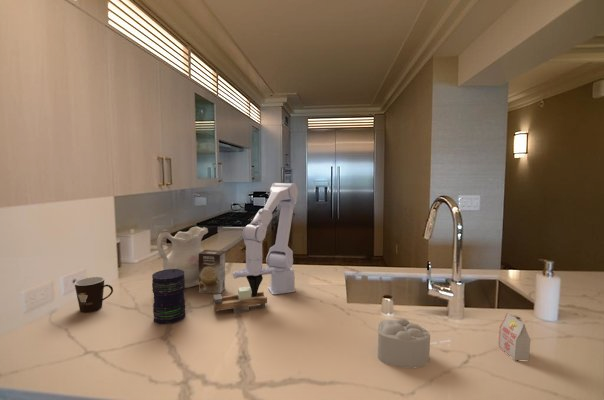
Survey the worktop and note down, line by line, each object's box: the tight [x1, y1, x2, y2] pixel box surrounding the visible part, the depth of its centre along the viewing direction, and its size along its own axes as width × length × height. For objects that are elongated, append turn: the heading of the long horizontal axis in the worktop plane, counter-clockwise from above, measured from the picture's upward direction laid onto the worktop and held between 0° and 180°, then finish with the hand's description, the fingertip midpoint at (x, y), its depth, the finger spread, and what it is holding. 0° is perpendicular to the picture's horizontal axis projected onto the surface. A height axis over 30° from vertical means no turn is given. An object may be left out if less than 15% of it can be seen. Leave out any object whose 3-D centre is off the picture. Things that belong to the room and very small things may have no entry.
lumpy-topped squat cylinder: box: [377, 317, 431, 369], centre depth 83 cm, size 10×13×9 cm
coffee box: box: [198, 249, 226, 295], centre depth 126 cm, size 9×6×16 cm
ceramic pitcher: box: [156, 226, 209, 289], centre depth 133 cm, size 22×20×25 cm
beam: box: [212, 291, 268, 314], centre depth 110 cm, size 18×6×5 cm, turn 111°
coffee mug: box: [74, 276, 114, 314], centre depth 108 cm, size 12×9×10 cm
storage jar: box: [151, 269, 186, 326], centre depth 102 cm, size 10×10×15 cm
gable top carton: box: [498, 312, 531, 361], centre depth 84 cm, size 4×7×10 cm, turn 179°
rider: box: [237, 286, 252, 300], centre depth 110 cm, size 4×4×4 cm
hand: (254, 295), depth 111 cm, fingers closed
